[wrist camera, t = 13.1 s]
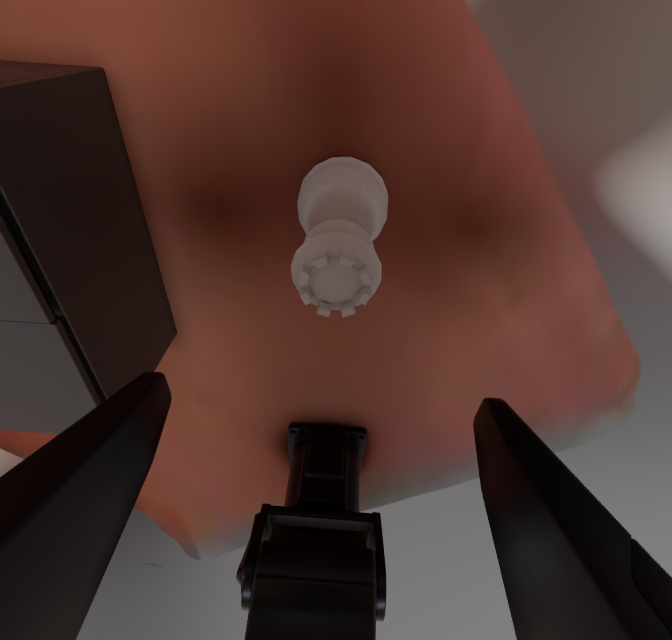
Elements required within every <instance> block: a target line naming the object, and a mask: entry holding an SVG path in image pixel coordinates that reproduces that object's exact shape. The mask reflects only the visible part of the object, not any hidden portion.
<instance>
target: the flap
mask: <svg viewBox="0 0 672 640" xmlns="http://www.w3.org/2000/svg"><path fill="white" fill-rule="evenodd" d="M100 404H101V401H100V399H99V397H98V395H97V393H96V391H95V389H94V387H93V385H92V383H91V381H90V379H89V377H88V375H87V373H86V371H85V369H84V367H83V365H82V363H81V361H80V359H79V357H78V355H77V353H76V351H75V349H74V347H73V345H72V343H71V341H70V338H69V336H68V334H67V332H66V330H65V328H64V326H63V324H62V322H61V320H59V319H55V320H53V321H52V322H51V323H50V324H47V323H34V322H21V321H7V320H0V429H1V430H14V431H26V432H39V433H52V434H60V433H61V432H63V431H64V430H66V429H67V428H68V427H70V426H71V425H72V424H74V423H75V422H76V421H78V420H79V419H81V418H82V417H83V416H85V415H86V414H87V413H89V412H90V411H91V410H93V409H94V408H96V407H97V406H98V405H100Z"/></svg>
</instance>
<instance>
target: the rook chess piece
mask: <svg viewBox="0 0 672 640" xmlns="http://www.w3.org/2000/svg"><path fill="white" fill-rule="evenodd" d="M297 205H298V215H299V221H300V224H301V225H302V227H303V229H304V231H305V233H306V238H305V241H304V243H303V244H302V245H301V246H300V248H299V249H298V250H297V251H296V252H295V255H294V258H293V261H292V264H291V273H292V281H293V283H294V285H295V286H296V288H297V289H298V291H299V296H300V297H301V299H302V300H303V302H304V304H305V305H308V304H309V303H312V304H314V305H316V306H317V312H316V314H319V315H322V316H326V317H329V316H330V310H341V313H342V316H343V318H344V317H347V316H350V315H353V314H356V306H359V305H362V304H363V305H365V306H366V304H367V302H368V300H369V298H370V297H372V296H373V295H374V294H375V292H376V290H377V288H378V286H379V284H380V282H381V272H382V265H381V263H380V261H379V258H378V256H377V254H376V251H375V250H374V245H373V243H372V241H373V240H374V239H376V238H377V237H378V236H379V234H380V232H381V230H382V228H383V226H384V224H385V222H386V220H387V209H388V192H387V190H386V187H385V184H384V182H383V179H382V177H381V176H380V175H379V174H378V173H377V172H376V171H375V170H374V169H373V168H372V167H371V166H370V165H369V164H367V163H365V162H363V161H360V160H358V159H355V158H353V157H332V158H330V159H328V160H326V161H324V162H321V163H319V164H317V165H315V166H314V168H313V169H312V170H311V171H310V172H309V173H308V174H307V176H306V177H305V178H304V179H303V182H302V185H301V188H300V192H299V195H298V202H297Z"/></svg>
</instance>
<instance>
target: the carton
mask: <svg viewBox="0 0 672 640" xmlns="http://www.w3.org/2000/svg"><path fill="white" fill-rule="evenodd" d="M55 319H59V320H61V322H62V324H63V326H64V328H65V330H66V332H67V334H68V336H69V338H70V341H71V343H72V345H73V347H74V349H75V351H76V353H77V355H78V357H79V359H80V361H81V363H82V365H83V367H84V369H85V371H86V373H87V375H88V377H89V379H90V381H91V383H92V385H93V387H94V389H95V391H96V393H97V395H98V397H99V399H100V401H101V403H102V402H104V401H105V400H106V399H108V398H109V397H111V396H112V395H113V394H115V393H116V392H117V391H119V390H120V389H122V388H123V387H124V386H126V385H127V384H128V383H130V382H131V381H132V380H134V379H135V378H137V377H138V376H139V375H141V374H142V373H144V372H147V371H151V372H154V371H155V369H156V367H157V366H158V364H159V362H160V361H161V359H162V357H163V356H164V354H165V352H166V350H167V349H168V347H169V345H170V344H171V342H172V340H173V339H174V337H175V335H176V329H175V325H174V322H173V318H172V315H171V311H170V308H169V304H168V300H167V297H166V293H165V290H164V286H163V283H162V279H161V275H160V272H159V268H158V265H157V261H156V258H155V254H154V250H153V247H152V243H151V240H150V236H149V233H148V229H147V226H146V222H145V218H144V215H143V211H142V208H141V204H140V201H139V197H138V193H137V190H136V186H135V183H134V179H133V176H132V172H131V168H130V165H129V161H128V158H127V154H126V151H125V147H124V143H123V140H122V136H121V133H120V129H119V126H118V122H117V118H116V115H115V111H114V108H113V104H112V101H111V97H110V93H109V90H108V86H107V83H106V79H105V76H104V72H103V69H102V68H98V67H84V66H70V65H56V64H41V63H27V62H13V61H0V320H7V321H21V322H34V323H47V324H50V323H51V322H52V321H53V320H55Z"/></svg>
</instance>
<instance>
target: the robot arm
mask: <svg viewBox="0 0 672 640" xmlns="http://www.w3.org/2000/svg"><path fill="white" fill-rule="evenodd" d="M170 404H171V392H170V389H169V386H168V383H167V380H166V377H165V375H164V374H163V373H161V372H151V371H147V372H144V373H142V374H141V375H139V376H138V377H137V378H135V379H134V380H132V381H131V382H130V383H128V384H127V385H126V386H124V387H123V388H122V389H120V390H119V391H117V392H116V393H115V394H113V395H112V396H111V397H109V398H108V399H106V400H105V401H104V402H102V403H101V404H100V405H98V406H97V407H96V408H94V409H93V410H91V411H90V412H89V413H87V414H86V415H85V416H83V417H82V418H81V419H79V420H78V421H76V422H75V423H74V424H72V425H71V426H70V427H68V428H67V429H66V430H64V431H63V432H61V433H60V434H59V435H57V436H56V437H55V438H53V439H52V440H50V441H49V442H48V443H46V444H45V445H44V446H42V447H41V448H40V449H38V450H37V451H35V452H34V453H33V454H31V455H30V456H29V457H27V458H26V459H25V460H23V461H22V462H21V463H19V464H18V465H17V466H15V467H14V468H12V469H11V470H9V471H8V472H7V473H5V474H4V475H3V476H1V477H0V640H76V638H77V636H78V634H79V631H80V629H81V627H82V625H83V622H84V620H85V617H86V615H87V613H88V611H89V608H90V606H91V604H92V601H93V599H94V597H95V594H96V592H97V590H98V587H99V585H100V583H101V581H102V578H103V576H104V573H105V571H106V569H107V567H108V564H109V562H110V560H111V558H112V555H113V553H114V550H115V548H116V546H117V544H118V541H119V539H120V537H121V534H122V532H123V530H124V527H125V525H126V523H127V521H128V518H129V516H130V514H131V511H132V509H133V507H134V504H135V502H136V500H137V497H138V495H139V493H140V491H141V488H142V486H143V484H144V481H145V479H146V477H147V474H148V472H149V470H150V467H151V465H152V462H153V459H154V456H155V453H156V450H157V447H158V444H159V440H160V437H161V434H162V430H163V427H164V424H165V421H166V417H167V414H168V411H169V408H170ZM473 427H474V435H475V444H476V452H477V460H478V468H479V476H480V483H481V490H482V494H483V499H484V503H485V507H486V511H487V516H488V520H489V524H490V528H491V533H492V537H493V541H494V545H495V549H496V553H497V558H498V562H499V566H500V570H501V575H502V579H503V582H504V587H505V591H506V596H507V600H508V604H509V608H510V612H511V617H512V621H513V625H514V629H515V634H516V638H517V640H672V577H671V576H670V575H669V574H668V573H667V572H666V571H665V570H664V569H663V568H662V567H661V566H660V565H659V564H658V563H657V562H656V561H655V560H654V559H653V558H652V557H651V556H650V555H649V554H648V553H647V552H646V550H645V549H644V548H643V547H642V546H641V545H640V544H639V543H638V542H637V541H636V540H635V539H632V538H631V535H630V534H629V533H628V531H627V530H625V529H624V527H623V526H622V525H621V524H620V523H619V522H618V521H617V520H616V519H615V518H614V517H613V516H612V514H611V513H610V512H609V511H608V510H607V509H606V508H605V507H604V506H603V505H602V504H601V503H600V502H599V501H598V500H597V499H596V498H595V496H594V495H593V494H592V493H591V492H590V491H589V490H588V489H587V488H586V487H585V486H584V485H583V484H582V483H581V482H580V480H579V479H578V478H577V477H576V476H575V475H574V474H573V473H572V472H571V471H570V470H569V469H568V468H567V467H566V466H565V465H564V464H563V462H562V461H561V460H560V459H559V458H558V457H557V456H556V455H555V454H554V453H553V452H552V451H551V450H550V449H549V448H548V446H547V445H546V444H545V443H544V442H543V441H542V440H541V439H540V438H539V437H538V436H537V435H536V434H535V433H534V432H533V431H532V429H531V428H530V427H529V426H528V425H527V424H526V423H525V422H524V421H523V420H522V419H521V418H520V417H519V416H518V415H517V414H516V412H515V411H514V410H513V409H512V408H511V407H510V406H509V405H508V404H507V403H506V402H505V401H504V400H502V399H499V398H485V399H483V401H482V403H481V405H480V407H479V409H478V411H477V413H476V416H475V418H474V423H473ZM366 442H367V431H366V430H364V429H354V428H341V427H328V426H316V425H303V424H290V425H289V426H288V452H289V468H290V472H289V479H288V485H287V491H286V498H285V504H284V506H272V505H270V504H264V503H263V504H262V508H261V512H260V513H258V514H255V519H254V523H253V528H252V532H251V536H250V539H249V542H248V545H247V547H246V550H245V553H244V555H243V558H242V560H241V563H240V566H239V568H238V571H237V577H236V578H237V581H238V582H239V584H240V586H241V595H242V600H241V603H242V610H248V611H249V613H248V620H247V627H246V634H245V640H375V637H376V636H375V635H376V633H375V632H376V621H383V620H384V616H385V608H386V567H385V557H384V546H383V537H382V526H381V516H380V513H377V512H373V513H360V512H359V474H360V473H361V469H362V464H363V459H364V453H365V448H366Z"/></svg>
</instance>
